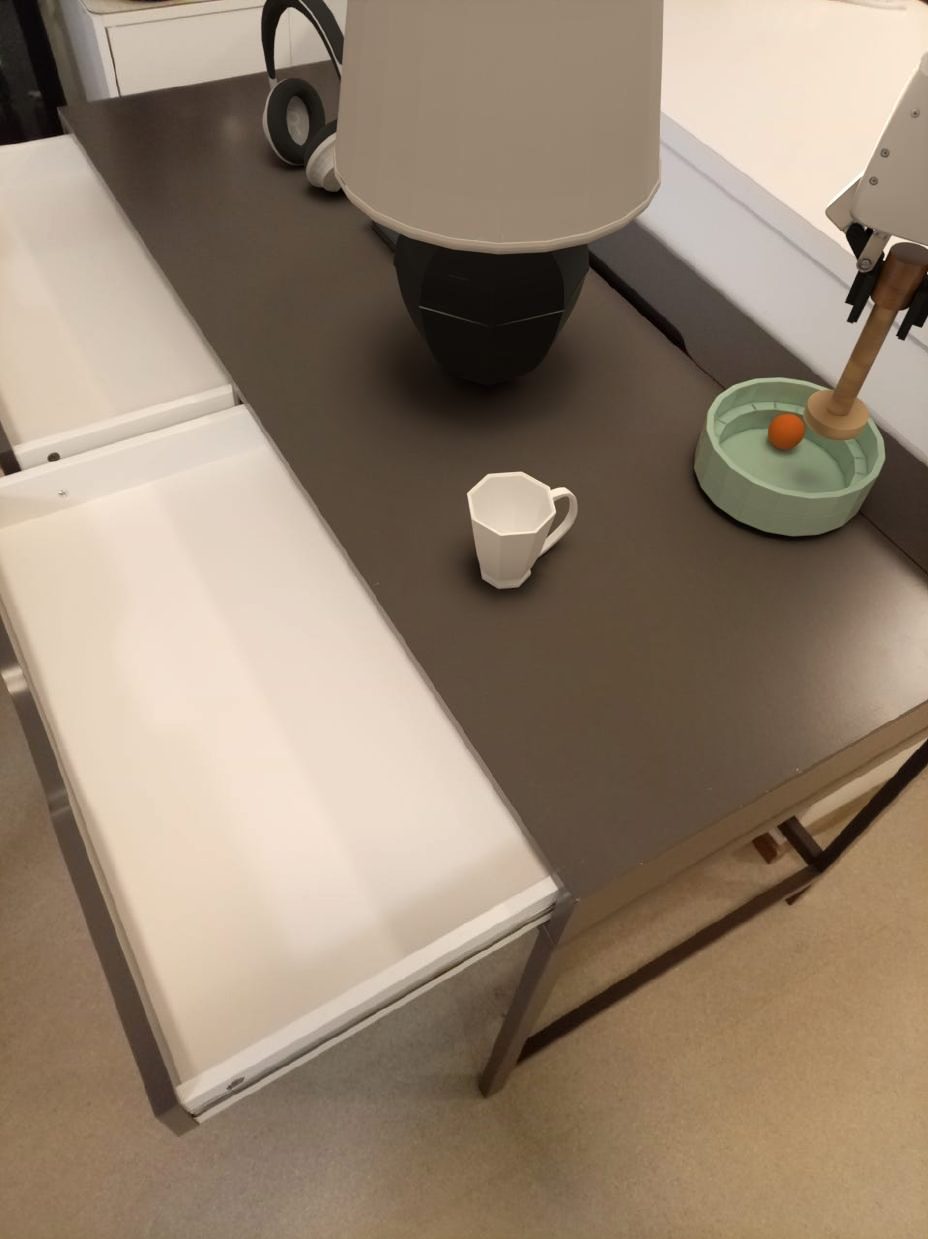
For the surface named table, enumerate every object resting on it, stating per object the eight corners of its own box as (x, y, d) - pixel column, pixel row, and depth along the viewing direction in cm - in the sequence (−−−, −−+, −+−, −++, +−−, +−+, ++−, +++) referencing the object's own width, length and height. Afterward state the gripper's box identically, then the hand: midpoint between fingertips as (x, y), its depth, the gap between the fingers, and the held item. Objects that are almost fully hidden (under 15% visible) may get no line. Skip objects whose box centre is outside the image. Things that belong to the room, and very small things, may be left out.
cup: (447, 556, 75) (448, 488, 69) (546, 514, 78) (556, 446, 72) (490, 614, 72) (495, 549, 65) (592, 568, 75) (607, 502, 68)
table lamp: (485, 260, 101) (508, -212, 69) (673, 372, 90) (805, -127, 58) (296, 361, 90) (218, -148, 58) (486, 504, 79) (521, -27, 47)
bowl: (879, 460, 84) (903, 414, 79) (833, 567, 76) (858, 523, 71) (725, 403, 88) (741, 357, 83) (667, 499, 80) (680, 454, 75)
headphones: (252, 152, 114) (222, -31, 98) (308, 135, 117) (288, -46, 101) (334, 219, 106) (316, 29, 89) (392, 197, 109) (385, 10, 93)
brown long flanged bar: (870, 413, 75) (956, 247, 63) (854, 448, 73) (940, 282, 60) (812, 393, 77) (885, 226, 64) (795, 426, 74) (867, 259, 62)
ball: (802, 440, 84) (814, 414, 81) (792, 461, 82) (803, 434, 79) (769, 428, 85) (780, 402, 82) (758, 448, 83) (769, 422, 80)
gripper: (1164, 63, 52) (1001, 331, 67) (884, -1, 56) (789, 264, 71) (1152, 114, 48) (981, 387, 63) (851, 41, 52) (759, 312, 67)
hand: (880, 319), depth 67 cm, fingers closed on brown long flanged bar, 3 cm apart
